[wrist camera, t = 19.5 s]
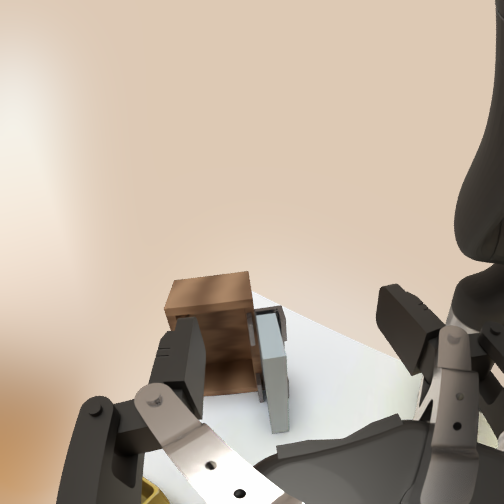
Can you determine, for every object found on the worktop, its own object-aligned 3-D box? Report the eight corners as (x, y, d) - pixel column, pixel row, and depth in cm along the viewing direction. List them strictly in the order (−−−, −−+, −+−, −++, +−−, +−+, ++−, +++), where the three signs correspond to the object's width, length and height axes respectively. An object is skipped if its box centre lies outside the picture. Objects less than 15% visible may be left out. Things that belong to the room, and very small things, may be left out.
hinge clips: (285, 384, 41) (281, 305, 35) (289, 398, 38) (285, 318, 32) (258, 388, 41) (246, 310, 35) (259, 402, 38) (247, 324, 32)
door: (280, 391, 40) (275, 312, 34) (288, 431, 32) (286, 355, 26) (266, 393, 40) (256, 315, 34) (272, 433, 32) (262, 359, 26)
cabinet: (259, 358, 48) (248, 271, 41) (264, 390, 40) (252, 298, 34) (198, 364, 47) (174, 280, 41) (195, 396, 40) (163, 308, 33)
